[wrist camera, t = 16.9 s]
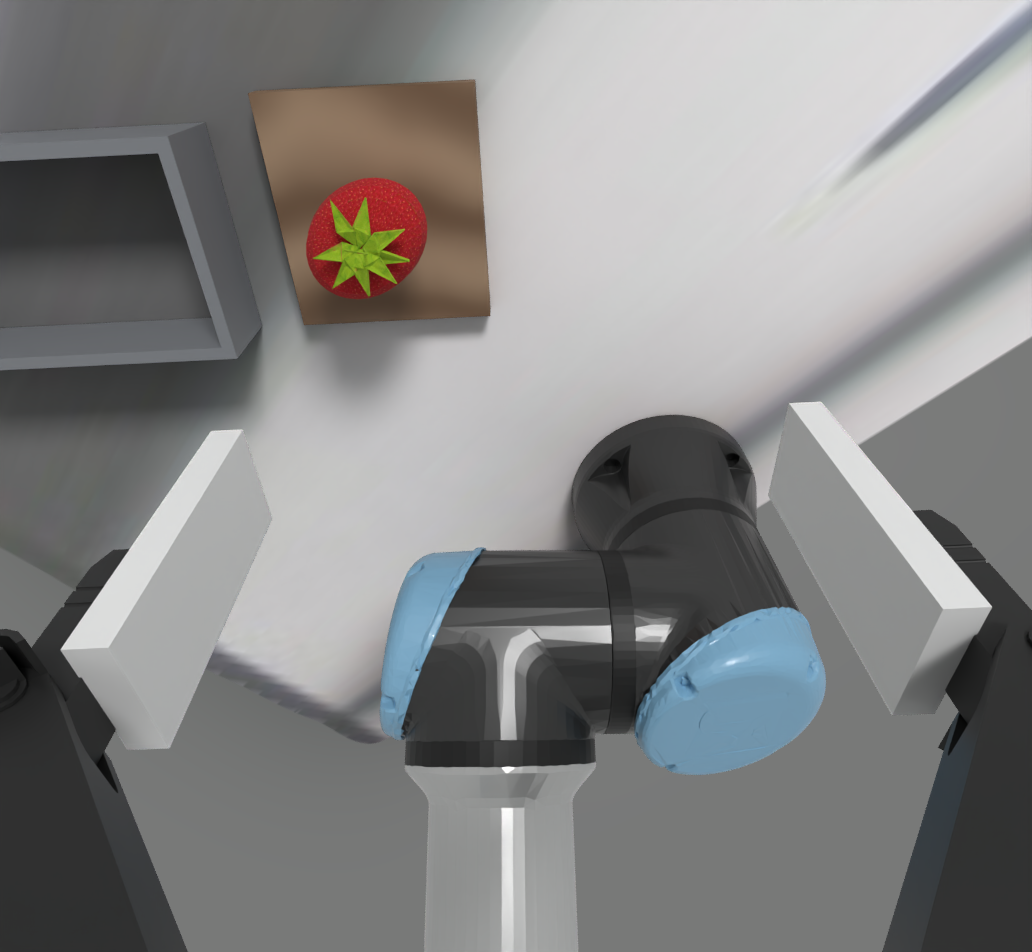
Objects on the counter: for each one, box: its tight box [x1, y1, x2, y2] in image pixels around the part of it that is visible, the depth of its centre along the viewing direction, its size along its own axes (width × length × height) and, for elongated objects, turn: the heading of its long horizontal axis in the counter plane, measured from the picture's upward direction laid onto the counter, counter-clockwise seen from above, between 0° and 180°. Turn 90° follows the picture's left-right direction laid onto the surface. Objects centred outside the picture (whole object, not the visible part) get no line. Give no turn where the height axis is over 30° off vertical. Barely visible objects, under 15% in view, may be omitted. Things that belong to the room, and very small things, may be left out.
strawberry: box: [306, 178, 427, 299], centre depth 37 cm, size 6×8×10 cm
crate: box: [0, 122, 262, 370], centre depth 41 cm, size 13×22×6 cm, turn 92°
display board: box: [248, 80, 490, 325], centre depth 42 cm, size 14×13×2 cm
